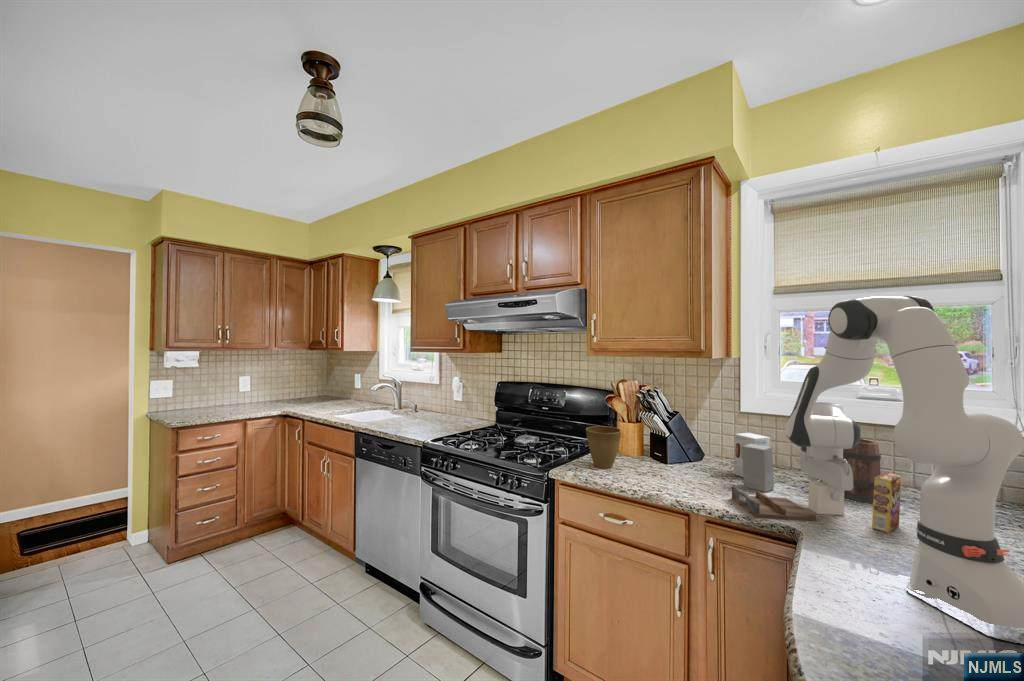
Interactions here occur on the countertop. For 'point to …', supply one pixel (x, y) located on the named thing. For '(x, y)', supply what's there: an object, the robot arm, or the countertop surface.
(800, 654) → the countertop surface
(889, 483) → the candy box
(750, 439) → the supplement box
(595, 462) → the plant pot
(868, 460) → the tankard
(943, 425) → the robot arm
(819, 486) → the cream carton
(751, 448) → the skincare box
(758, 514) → the shelf board
